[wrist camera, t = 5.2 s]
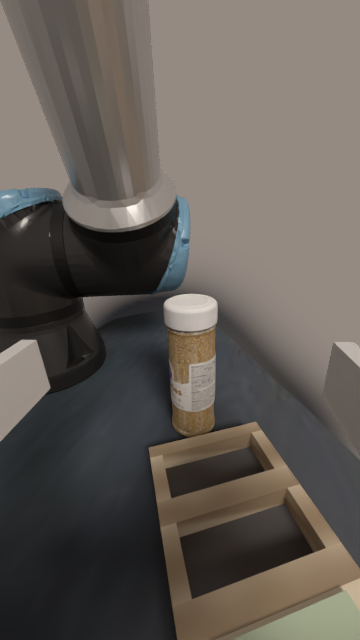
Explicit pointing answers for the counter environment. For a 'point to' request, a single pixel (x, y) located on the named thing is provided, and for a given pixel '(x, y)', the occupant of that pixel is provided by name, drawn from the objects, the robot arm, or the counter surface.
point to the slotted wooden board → (248, 544)
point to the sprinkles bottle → (192, 361)
